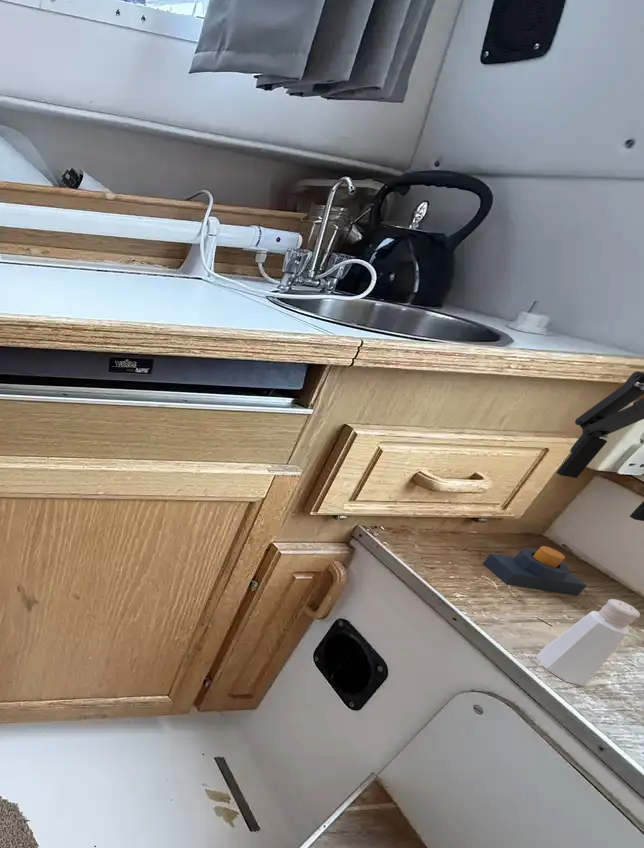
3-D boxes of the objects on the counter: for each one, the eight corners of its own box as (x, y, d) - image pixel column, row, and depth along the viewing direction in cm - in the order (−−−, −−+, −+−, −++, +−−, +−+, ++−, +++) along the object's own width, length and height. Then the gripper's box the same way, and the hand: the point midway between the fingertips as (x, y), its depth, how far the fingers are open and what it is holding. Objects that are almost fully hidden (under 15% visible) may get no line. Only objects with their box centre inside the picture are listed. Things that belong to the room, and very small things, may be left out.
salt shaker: (524, 652, 72) (584, 590, 66) (554, 651, 73) (615, 589, 67) (568, 688, 67) (636, 624, 62) (599, 685, 68) (668, 623, 63)
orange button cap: (544, 557, 87) (553, 547, 86) (561, 570, 85) (570, 559, 84) (527, 554, 87) (536, 544, 86) (542, 567, 85) (552, 556, 84)
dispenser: (548, 572, 91) (565, 554, 89) (580, 598, 86) (598, 578, 84) (480, 561, 90) (495, 542, 88) (508, 586, 85) (525, 566, 83)
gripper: (613, 321, 79) (514, 453, 90) (819, 380, 58) (659, 541, 69) (661, 330, 79) (557, 460, 90) (882, 392, 59) (713, 551, 70)
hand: (601, 496), depth 80 cm, fingers open, 11 cm apart
